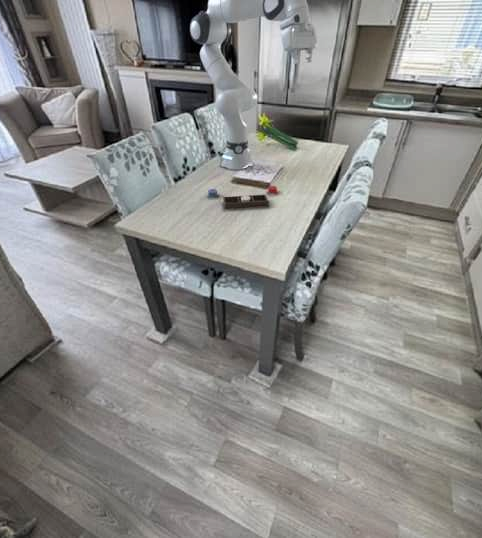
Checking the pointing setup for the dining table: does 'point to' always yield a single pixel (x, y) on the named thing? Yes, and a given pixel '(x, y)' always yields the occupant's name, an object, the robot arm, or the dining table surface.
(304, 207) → the dining table surface
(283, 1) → the robot arm
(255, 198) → the token board
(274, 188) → the red token
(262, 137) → the daffodil flowers
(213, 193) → the slate token
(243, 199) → the ivory token
